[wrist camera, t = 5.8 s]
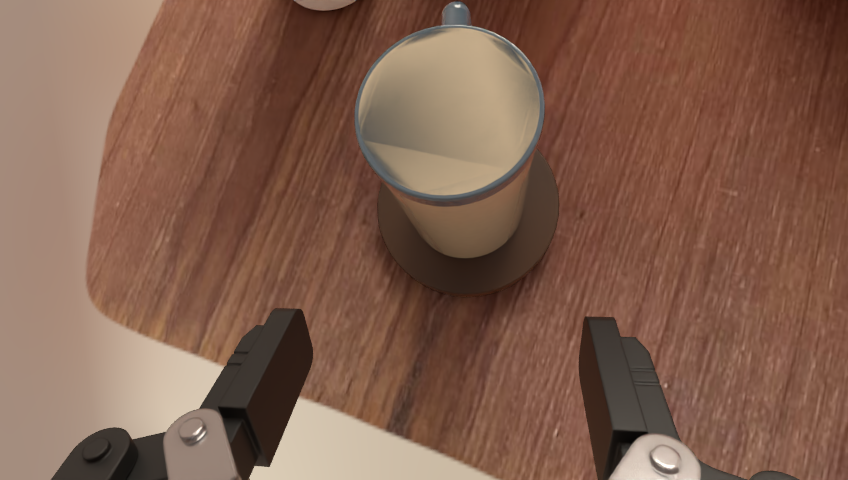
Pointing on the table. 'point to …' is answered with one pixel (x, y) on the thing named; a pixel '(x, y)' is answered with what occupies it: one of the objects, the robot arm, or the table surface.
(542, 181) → the swivel stand
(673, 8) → the table surface
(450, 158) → the beer stein
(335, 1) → the water bottle
